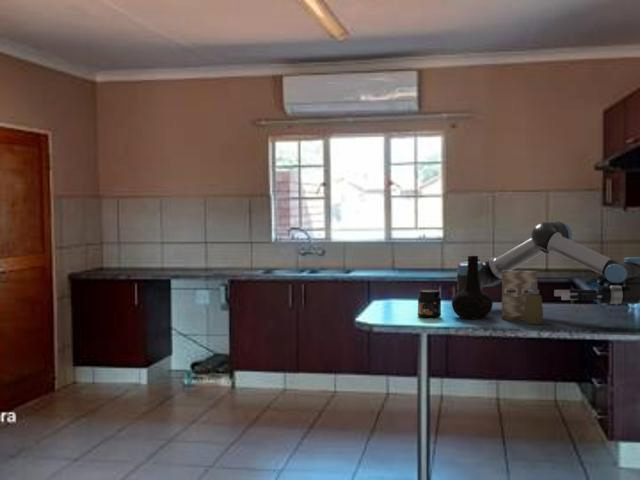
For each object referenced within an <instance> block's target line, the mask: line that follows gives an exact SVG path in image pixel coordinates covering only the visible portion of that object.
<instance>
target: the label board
mask: <svg viewBox="0 0 640 480" xmlns="http://www.w3.org/2000/svg"><path fill="white" fill-rule="evenodd" d="M533 281H534V282H535V283H536V288H537V289H538V271H537V270H511V271H502V281H501V320H508V321H509V320H511V321H516V320H517V321H526V320H525V317H524V309H525V300H526V296H527V295H529V294H528V290H531V285H532V282H533Z"/></svg>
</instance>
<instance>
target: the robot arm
mask: <svg viewBox="0 0 640 480" xmlns="http://www.w3.org/2000/svg"><path fill="white" fill-rule="evenodd" d="M572 238H573V233H572V229H571V227H570V226H569V225H568V224H567V223H565V222H564V221H549V222H546V221H545V222H540V223H538V224H537V225H535V226H534V227H533V229H532V231H531V238H529V239H527V240H525V241H524V242H522V243H520V244H518V245H517V246H515V247H513V248H511V249H510V250H509V251H506V252H505V253H503V254H501V255H500V256H498V257H495V256H492V257H490V258H489V259H487V260H485V261H483V262H481V261H478V277H479V286H480V289H481V290H482V291H483V288H486V287H487V288H488V287H494V286H497V285H500V283H502V271H514V270H515V269H517V268H518V267H520V266H522V265H524V264H526V263H527V262H529V261H530V260H533V259H534V258H536V257H538V256H539V255H541V254H548V255H549V254H550V253H551V254H552V253H555V254H558V255H559V256H562V257H564V258H566V259H568V260H571V261H572V262H574V263H577V264H579V265H580V266H582V267H584V268H587V269H589V270H591V271H593V272H595V273H597V274H600V275H602V276H604V277H605V279H606V281H608V282H610V283H613V284H614V283H615V284H619V283H623V285H610V286H609V285H600V286H599V287H598V290H595V289H554V290H553V295H554V297H561V299H560V300H561V301H578V300H579V301H582V302H584V301H596V300H597V301H598V302H599V304H602V305H603V304H612V305H613V304H614V305H615V306H618V304H620V305H621V304H629V305H631V304H632V305H633V304H636V305H638V304H640V257H639V256H637V257H636V256H635V257H634V256H631V257H630V256H629V257H627V256H626V257H624V258H623V262H619V261H616V260H614V259H612V258H611V257H610V258H609V257H608V256H606V255H604V254H601V253H600V252H597V251H595V250H592V249H590V248H588V247H586V246H584V245H581V244H580V243H577V242H576V241H573V240H572ZM467 270H468V261H467V260H466V261H462V262H460V263H458V265H457V269H456V274H457V275H456V278H457V279H456V280H457V281H456V284H457V286H456V289H457V292H456V294H457V293H459V292H461V291H462V290H463V289H464V287H465V283H466V278H467Z"/></svg>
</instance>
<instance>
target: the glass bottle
mask: <svg viewBox="0 0 640 480" xmlns="http://www.w3.org/2000/svg"><path fill="white" fill-rule="evenodd" d="M466 261H468V270H467V278H466V283H465V287H464V289H463V290H462V291H461V292H459V293H457V292H456V294H455V295H454V296H453V297H452V300H451V306H452V310H453V312H454V313H455V315H457V316H458V317H459V318H461V319H464V320H465V319H467V320H481V319H484V318H486V317H487V316H488V315H489V314H490V312H491V311H492V308H493V302H494V301H493V298H492V297H491V296H490V295H489V293H487V292H484V291H483V289H482V290H481V289H480V286H479V277H478V261H480V259H479V256H478V255H468V256H467V260H466ZM480 262H481V261H480Z"/></svg>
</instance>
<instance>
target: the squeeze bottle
mask: <svg viewBox="0 0 640 480" xmlns="http://www.w3.org/2000/svg"><path fill="white" fill-rule="evenodd" d="M528 294H529V295H527V296H526V300H525V309H524V317H525V320H524V321H525V323H526V324H528V325H536V326H537V325H541V323H542V321H543V319H544V318H543V317H544V311H543V298H542V295H540V289H538V287H537V288H536V283H535V282H534V281H533V282H532V285H531V290H528Z"/></svg>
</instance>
